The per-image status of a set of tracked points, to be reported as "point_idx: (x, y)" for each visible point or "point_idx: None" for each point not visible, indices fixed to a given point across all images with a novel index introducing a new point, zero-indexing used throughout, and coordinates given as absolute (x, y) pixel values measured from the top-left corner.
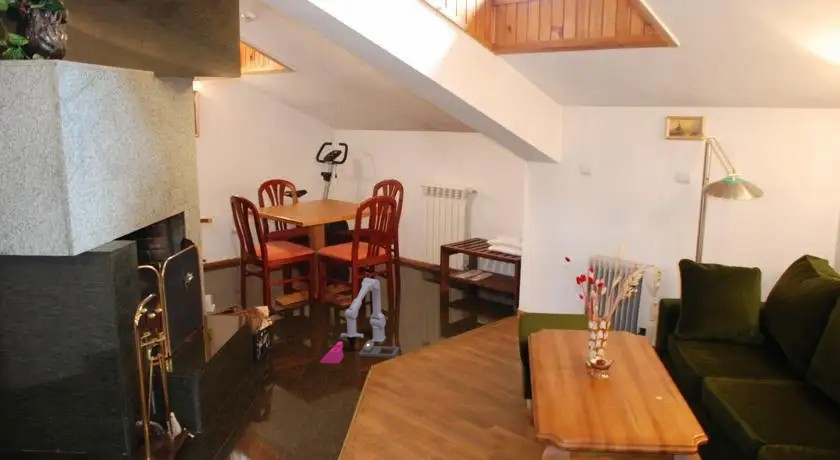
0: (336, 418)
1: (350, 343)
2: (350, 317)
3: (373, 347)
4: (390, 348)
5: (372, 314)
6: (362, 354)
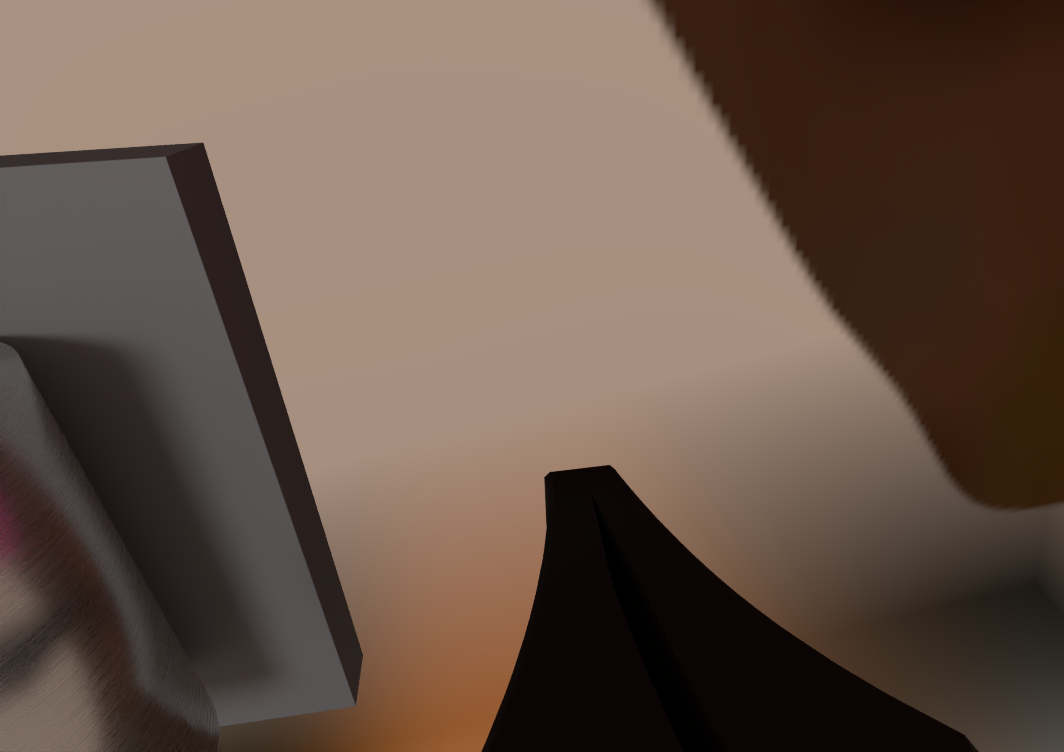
0: None
1: (688, 583)
2: None
3: None
4: None
5: None
6: (8, 162)
